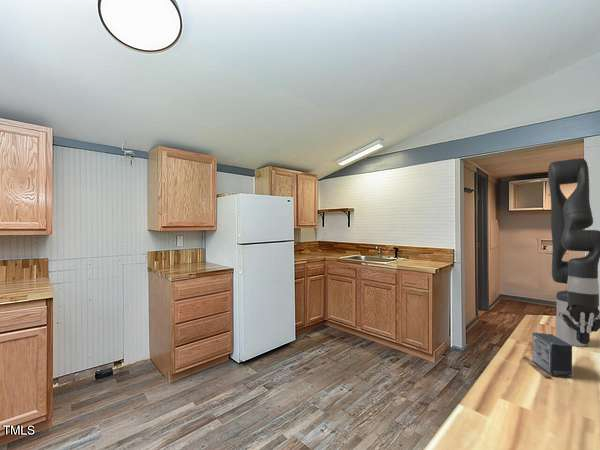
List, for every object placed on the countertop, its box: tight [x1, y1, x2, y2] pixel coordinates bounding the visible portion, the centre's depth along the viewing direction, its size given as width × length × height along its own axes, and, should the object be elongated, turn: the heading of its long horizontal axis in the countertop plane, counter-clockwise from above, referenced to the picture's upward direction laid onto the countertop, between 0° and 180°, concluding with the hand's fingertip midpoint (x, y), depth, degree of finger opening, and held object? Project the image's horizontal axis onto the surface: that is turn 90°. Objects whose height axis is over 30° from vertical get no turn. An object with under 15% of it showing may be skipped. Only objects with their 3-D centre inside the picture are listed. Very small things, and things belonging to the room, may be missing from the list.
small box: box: [531, 332, 573, 379], centre depth 98 cm, size 11×6×10 cm, turn 168°
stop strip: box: [522, 356, 552, 380], centre depth 99 cm, size 14×2×1 cm, turn 167°
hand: (582, 343), depth 96 cm, fingers closed
